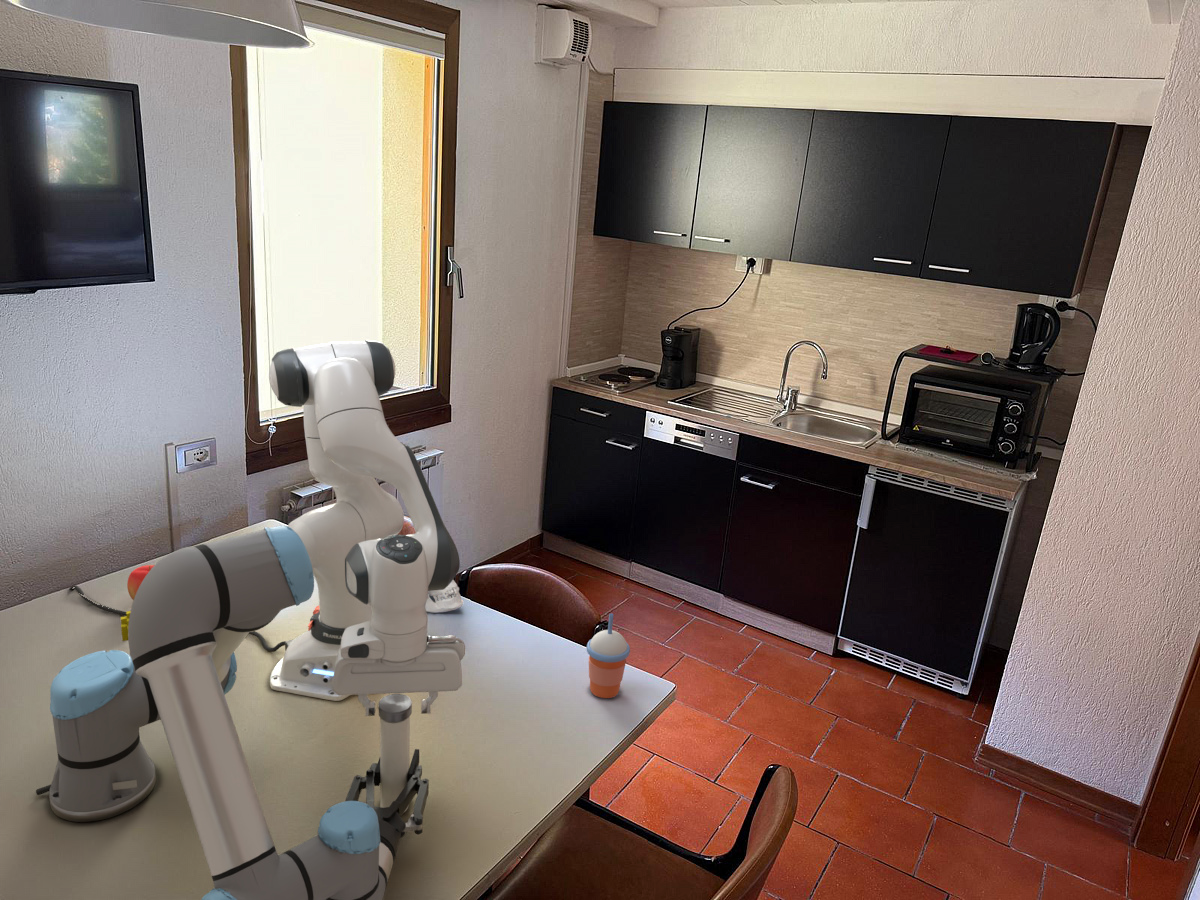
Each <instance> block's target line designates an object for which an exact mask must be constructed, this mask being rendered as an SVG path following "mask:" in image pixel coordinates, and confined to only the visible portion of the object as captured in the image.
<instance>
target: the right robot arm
mask: <svg viewBox="0 0 1200 900" xmlns="http://www.w3.org/2000/svg"><path fill="white" fill-rule="evenodd" d="M395 377H396V362H395V360H394V357H393V355H392V353H391V350H390V349H389V347H388V346H387V345H386V344H385V343H384V342H382V341H377V340H372V339H371V340H370V339H365V340H364V341H354V340H353V341H352V340H351V341H350V340H347V341H329V342H328V343H320V344H314V345H313V344H312V345H308V346H303V347H298V348H294V347H289V348H286V349H283V350H280V351H277V352H276V353H275V354H274V356H273V357H272V358H271V364H270V366H269V370H268V381H269V385H270V388H271V390H272V392H273V394H274V396H275V397H276V399H277V401H279V402H280V403H281V404H283V405H285V406H288V407H296V408H297V407H298V408H302V407H303V429H304V438H305V445H306V453H307V460H308V461H307V462H308V468H309V472H310V474H311V475H312V477H313V478H314V479H315V480H316V481H317V482H320V483H321V484H324V485H326V486H330V487H332V489H333V491H334V495H335V498H336V502H334V503H330V504H328V505H324V506H321V507H318V508H314V509H312V510H309V511H307V512H305V513H304V514H302V515H300V516H299V517H297V518H295V519H293V520H292V521H290V522H289V523H288V525H287V526H288V527H290V528H291V529H293V530H294V531H295V532H296V533H297V534H298V535H299V537H300V538H301V540H302V542H303V543H304V545H305V547H306V550H307V552H308V555H309V558H310V561H311V564H312V569H313V575H314V581H315V582H316V586H317V593H318V605H316V607H314V610H313V611H312V615H311V617H310V619H309V623H308V625H307V628H308V629H307V630H306V631H304V632H302V633H301V634H299V635H297V636H296V637H295V638H292V639H289V640H283V641H281V642H279V643H277V644H276V645H275V646H273V647H270V646H269V645H268V644H267V641H266V639H265V638H264V636H263V635H261V634H260V633H259V632H257V631H253V632H249V634H248V635H252V636H254V637H256V638H258V640H259V641H260V643H261V645H262V647H263V649H264V650H265V651H267V652H270V653H273V652H276V651H278V650H279V649H280V648H282V647H284V654H283V656H282V657H281V659H280V660H279V661H278V662H277V663H276V664H275V666H274V667H273V669H272V670H271V673H270V676H269V686H270V688H271V689H272V690H274V691H278V692H283V693H289V694H295V695H300V696H304V697H305V696H306V697H310V698H315V699H316V698H317V699H322V700H327V701H334V702H339V701H340V702H341V701H342V700H344V699H346V698H348V697H350V696H356V695H357V700H358V701H359V703H360V704H361V705H362V706H363V708H365V709H364V710H365V715H364V716H365V717H375V716H376V700H371V699H369V697H368V695H383V694H386V695H389V694H412V693H413V694H415V693H428V696H427V697H426V698H423V699H421V703H420V704H421V706H420V708H421V709H420V710H421V711H420V714H421V715H427V714H428V715H429V714H431V706H432V705H433V704H434V702H435V701H436V699H438V694H439V693H441V692H457V691H458V690H460V689H461V687H462V686H463V670H462V669H463V668H462V660H463V659H464V658H465V655H466V644H465V642H464V640H462V639H461V638H459V637H457V636H456V635H447V636H444V635H443V636H441V635H428V628H429V627H428V625H429V623H428V622H429V618H428V612H427V611H426V608H425V605H426V601H427V599H428V595H429V594H428V591H434V590H443V589H445V588H446V587H447V586H448V585H449V584H450V583H451V582H452V580H454V579H455V578H456V576H457V574H458V573H459V571H460V565H461V562H460V555H459V551H458V548H457V545H456V543H455V541H454V540H453V538H452V536H451V534H450V532H449V530H448V529H447V527H446V526H445V523H444V520H443V519H442V516H441V514H440V511H439V509H438V506H437V504H436V502H435V499H434V497H433V495H432V492H431V489H430V487H429V485H428V482H427V480H426V478H425V475H424V473H423V470H422V468H421V465H420V464H419V461H418V459H417V457H416V455H415V454H414V451H413V450H412V448H411V447H410V446H409V445H408V444H406V443H403V441H400V440H399V439H398V438H397V436H395V435H394V433H393V432H392V430H391V429H390V427H389V426H388V424H387V421H386V419H385V415H384V410H383V406H382V403H381V399H380V397H381V396H383V395H386V394H387V393H388V392H389V391H390V390H391V389H392V387H393V386H394V383H395ZM377 480H380V481H383V482H385V483H387V484H389V485H391V486H392V487H394V488H395V489H396V490H397V492H398V493H399V494H400V496H401V499H402V501H403V504H404V506H405V509H406V511H407V513H408V516H409V518H410V522H411V523H412V526H413V529H414V531H415V533H411V534H399V533H401V531H402V529H403V527H404V522H405V514H404V510H403V506H402V505H401V503H400V501H399V500H398V498H397V497H396V496H394V495H392V494H391V493H389V492H387V491H386V490H384V488H382V486H381V485H380V484H379V483H378V481H377ZM73 587H75V588H74V589H72V588H73ZM74 590H75V592H77V593H78V595H79V596H80V597H81V598H82V599H83V600H84V601H86V602H87V603H89V604H90V605H92V606H94V607H95V608H98V609H101V610H103V611H106V612H108V613H112V614H114V615H115V614H116V615H120V616H122V617H125V616H127V615H126V611H124V610H120V609H116V608H113V609H112V607H110V606H107V605H104V606H103V607H102V605H103V604H102V603H99V604H100V605H97V604H95V603H93V602H92V601H90V600H88V599H87V598H85V597H83V596H81V595H80V594H82V595H84V594H85V593H84V592H83V589H81V588H80V587H79V586H78V585H71V586H70V587H69V588H68V591H74ZM79 593H80V594H79ZM101 604H102V605H101ZM106 606H107V607H106ZM109 607H110V608H109ZM108 608H109V609H108ZM115 609H116V610H115Z"/></svg>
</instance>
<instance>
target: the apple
mask: <svg viewBox="0 0 1200 900" xmlns="http://www.w3.org/2000/svg"><path fill="white" fill-rule="evenodd" d="M155 565H156V564H146V565H140V566H139V567H137V568H135V569H133V570H132V571H131V572H130V574H129V575H128V577H127V584H126V588H127V593H128V596H129V597H130V598H131V599H132V601H134V598H135V595H136V593H137V591H138V589H139V586H140V585H141V583H142V581H143V580H144V578H145V577H146V575H147V574H148V572H149V571H150V570H151V569H152V568H153V567H154V566H155Z"/></svg>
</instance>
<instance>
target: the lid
mask: <svg viewBox="0 0 1200 900" xmlns="http://www.w3.org/2000/svg"><path fill="white" fill-rule="evenodd" d="M377 708H378V712H377V713H378V714H377V715H378V717H379V719H380V718H381V719H382V720H384V721H387V722H400V721H403V720H405V719H407V718H408V717H409V716H410V717H411V715H412V711H413V700H412V699H411V698H410V697H409V696H408V695H406V694H404V693H390V694H386V695H385V696H383V697H382V698H380V699H379V701H378V707H377Z"/></svg>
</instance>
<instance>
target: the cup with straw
mask: <svg viewBox="0 0 1200 900" xmlns="http://www.w3.org/2000/svg"><path fill="white" fill-rule="evenodd" d="M613 623H614V614H613V613H609V614H608V624H607V629H604V630H603V629H602V630H600V631H599V632H597V633H596V634H594V635H593V637H592V638H591V639H589V640H588V642H587V644H586V652H587V654H588V678H589V690H590V693H592V695H594V696H595V697H598V698H601V699H611V698H614V697H616V696H617V695H618V694H619V691H620V688H621V684H622V681H623V678H624V674H625V673H624V672H625V669H626V664H627V663H626V662H627V660H626V659H627V658H628V657H629V656H630V653H631V647H630V645H629V643H628V642H627V640H626V639H625V637H624V636H623V635H622V634H621V633H620V632H618V631H616V630H613V626H614V624H613Z"/></svg>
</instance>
